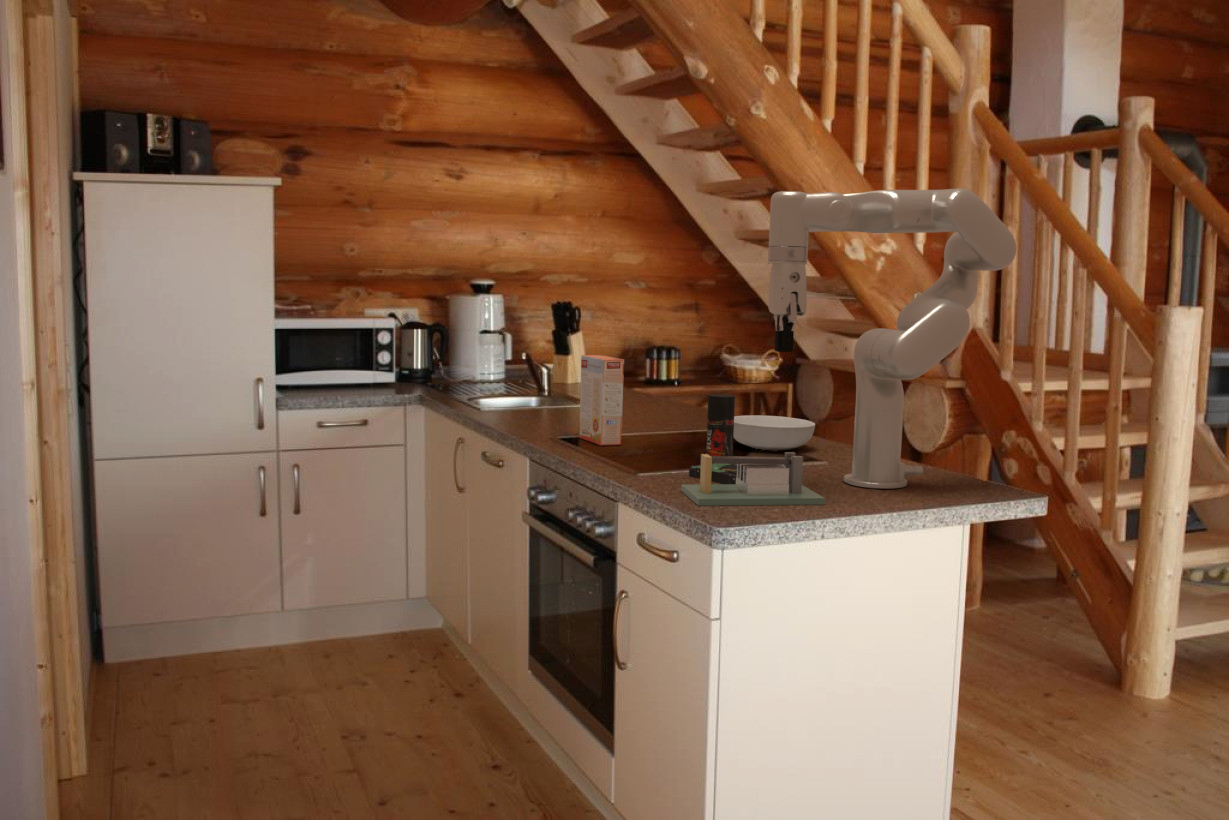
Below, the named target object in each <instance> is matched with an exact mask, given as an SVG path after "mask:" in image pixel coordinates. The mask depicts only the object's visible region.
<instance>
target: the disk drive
mask: <svg viewBox="0 0 1229 820" xmlns="http://www.w3.org/2000/svg"><path fill="white" fill-rule="evenodd" d="M700 471H701V464H699V465H691V466H690V468H689V469H688V477H689V478H690V477H691V478H694V479H695V478H696V479H699V480H700ZM736 477H737V464H718V463H712V473H711V482H712V483H718V484H736Z"/></svg>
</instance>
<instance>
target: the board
mask: <svg viewBox="0 0 1229 820" xmlns="http://www.w3.org/2000/svg"><path fill="white" fill-rule="evenodd" d="M790 455H794V456H792V465H790V464H783V466H786V468H789V482H788V484H789V495H746V494H744V493H743V492H742V491H740V490H739V489H737V488H736V484H722V483H718V484H713V483H712V481H711V473H712V457H711V456H709V455H708V454H706V453H705V454H704V453H701V454H700V465H701V471H700V479H699V484H681V485H680V487H681V488H680V491H681V492H682V493H683V494H685V496H687V497H688V499H690V500H691V501H693V502H694V504H696V505H697V506H701V507H703V506H704V507H706V506H800V505H801V506H802V505H803V506H807V505H808V506H810V505H811V506H813V505H815V506H816V505H820V506H821V505H822V506H823V505H824V506H825V502H826V497H823V496H822V495H820V494H819V493H817V492H815V491H814V490H812V489H810V488H808V487H807V486H805V485H803V466H804V465H803V464H804V456H803V455H796V452H794V451H792V452H791V451H790V452H789V451H788V452H787V451H786V452H785V451H784V457H787V458H788V456H790Z"/></svg>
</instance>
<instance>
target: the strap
mask: <svg viewBox="0 0 1229 820" xmlns="http://www.w3.org/2000/svg"><path fill="white" fill-rule="evenodd" d="M792 456H794V455H790V456H788V458H787V457H785V456H741V455H739V456H735V455H733V456H711V457H712V463H718V464H736V465H737V464H782V465H784V464H790V465H792Z"/></svg>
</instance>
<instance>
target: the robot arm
mask: <svg viewBox="0 0 1229 820" xmlns="http://www.w3.org/2000/svg"><path fill="white" fill-rule="evenodd" d="M770 198H771V199H770V206H769V207H770V209H769V211H770V212H769V231H768V233H769V234H768V254H767V263H768V264H771V268H770V275H769V276H770V277H769V286H768V288H769V290H768V311H769V312H770V313H771V315H773V320H775V321H774V323H775V324H774V325H775V327H774V328H775V329H774V331H775V332H774V351H775V352H779V353H792V352H793V350H794V336H795V335H794V334H795V333H794V332H795V325H796V324H795V323H797V320H798V317H799V316H801V317H803V316H805V315H806V314H807V297H808V295H807V289H808V288H807V285H808V284H807V271H806V265H808V253H809V252H808V251H809V247H808V246H809V236H810V235H809V233H819V232H820V233H822V232H823V233H825V232H827V233H828V232H831V233H832V232H835V233H836V232H838V233H839V232H851V233H852V232H857V233H859V232H860V233H866V234H867V233H868V234H903V233H905V234H908V233H909V234H910V233H911V234H913V233H914V234H918V233H921V234H922V233H931V234H932V233H951V232H954V233H953V234H951V236H950V237H948V240H947V241H946V243H945V247H944V251H943V258H944V259H943V270H942V273H941V275H940V277H939V278H938V279H937V280H936V281H935V282H934V283H933V284H932V285H930V286H929V287H928V288H926V289H925V290H924V291H923V292H922V293H920V294H919V295H918V296H917V297H916V298H914V299H913V300H911V301H910V302H908V304H906V305H905V306H904V307H903V308H902V309H901V310H900V312H899V313H898V316H897V318H896V329H892V328H884V327H883V328H882V327H881V328H871V329H869V330H867V331H865V332H864V333H863V334H861V335H860V337H859V338H858V339H857V340H856V343H855V346H854V348H853V365H854V366H853V367H854V372H855V387H856V388H855V407H854V408H855V410H854V424H853V425H854V427H853V428H854V429H853V445H852V446H853V447H852V449H853V450H852V464H851V465H852V468H851V473H847V474H845V475H844V476H843V481H844V483H846V484H848V485H851V486H855V487H861V488H869V489H883V490H884V489H886V490H887V489H899V488H900V489H901V488H906V486H907V485H908V479H907V478H906V477H908V476H922V475H923V473H924V469H923V468H924V467H923V466H922V465H908V464H906V463H904V462H902V461H901V455H902V442H903V441H902V439H903V438H902V437H903V424H904V423H903V421H904V409H905V406H904V405H905V395H904V394H905V391H904V388H903V387H904V386H903V383H902V381H904V380H905V381H910V380H914V379H917V378H919V377H921V376H923V375H924V374H926V373H927V372H929V371H930V370H931V369H932V368H933V367H935V366H936V365H937V364H939V363H940V362H941V361H942V360H944V359H945V358H946V357H947V356H948V355H949V354H951V353H952V352H953V351H954V350H956V349H957V348H958V347H959V346H960V345H961V344H962V342H963V341H964V340H965V338H966V337H967V335H968V332H969V330H970V327H971V326H970V324H971V322H970V320H971V319H970V315H969V312H968V309H969V308H970V307H971V306H972V305H973V304H974V302H975V300H976V298H977V294H978V288H979V271H983V272H984V271H985V272H986V271H992V272H993V271H994V272H995V271H1000V270H1004V269H1005V268H1007V267H1008V266H1010V265H1011V264H1012V263H1013V262H1014V260H1015V258H1016V254H1017V242H1016V239H1015V236H1014V235H1013V234H1012V232H1011V231H1010V229H1009V228H1008V227H1007V225H1005V224H1004V223H1003V221H1002V220H1001V219H1000V218H999V216H998V215H996V213H995V212H994V211H993V210H992V209H991V208H990V207H989V206H988V204H987V203H986V202H984V200H982V198H980V197H979V195H977V193H976V194H975V192H973V191H972V190H970V189H967V188H963V187H958V188H948V189H883V190H882V189H881V190H880V189H879V190H872V191H865V192H864V191H863V192H858V193H855V192H854V193H841V192H836V191H826V192H823V191H822V192H816V193H815V192H814V193H807V192H803V191H794V190H793V191H792V190H784V191H783V190H782V191H776V192H774V193H773V194H772V195H771V197H770Z"/></svg>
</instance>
